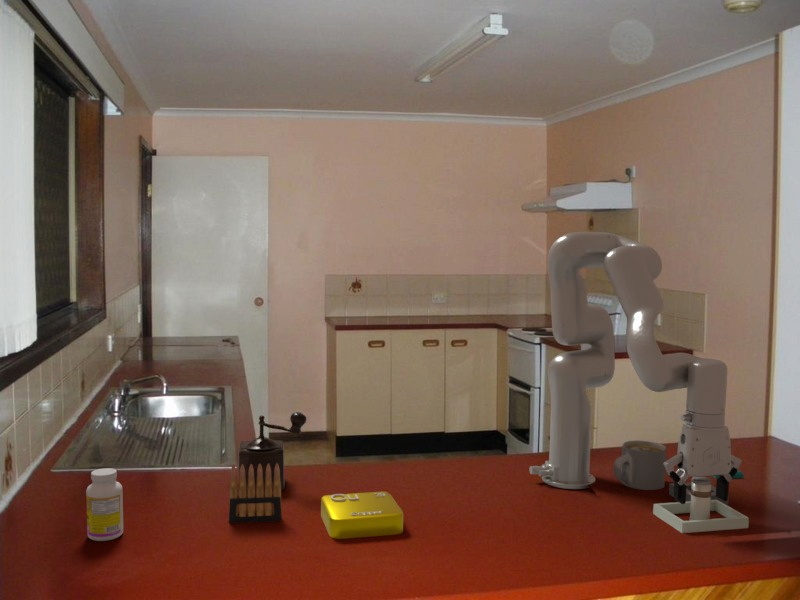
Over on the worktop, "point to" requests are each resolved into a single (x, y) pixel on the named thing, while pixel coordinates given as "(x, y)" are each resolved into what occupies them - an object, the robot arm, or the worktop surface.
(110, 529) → the supplement bottle
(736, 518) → the parts tray
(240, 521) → the ammunition clip
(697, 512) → the cylinder
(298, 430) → the manual coffee grinder
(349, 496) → the element tile
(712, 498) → the fuse holder
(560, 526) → the worktop surface
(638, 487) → the coffee mug
